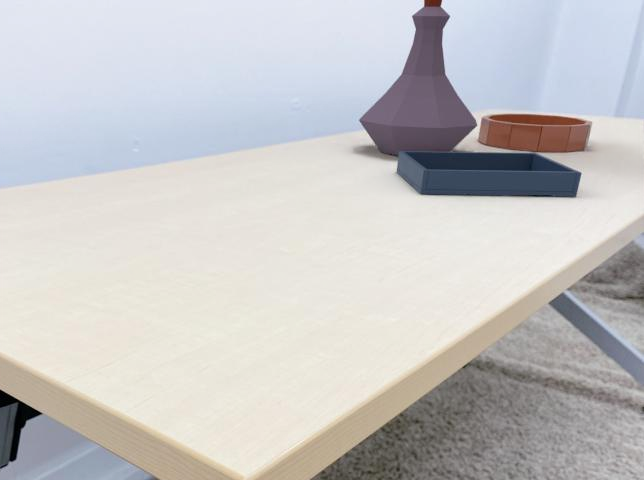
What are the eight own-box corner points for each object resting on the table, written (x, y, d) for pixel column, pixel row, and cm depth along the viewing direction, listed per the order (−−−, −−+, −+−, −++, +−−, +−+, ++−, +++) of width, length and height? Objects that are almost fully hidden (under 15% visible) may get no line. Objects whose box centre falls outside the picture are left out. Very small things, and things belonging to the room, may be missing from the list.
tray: (531, 174, 84) (536, 152, 83) (576, 196, 73) (581, 172, 72) (396, 172, 85) (398, 150, 84) (420, 194, 74) (423, 170, 73)
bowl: (560, 137, 112) (565, 114, 111) (604, 152, 99) (610, 126, 97) (467, 135, 113) (470, 113, 111) (498, 151, 99) (503, 125, 98)
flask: (494, 151, 99) (521, -7, 91) (447, 167, 88) (474, -12, 80) (386, 139, 109) (402, -5, 101) (331, 152, 98) (344, -9, 89)
